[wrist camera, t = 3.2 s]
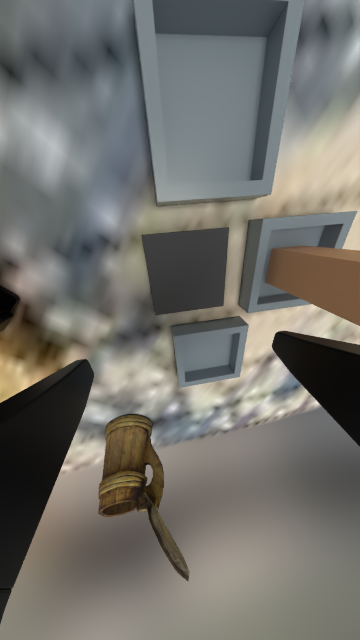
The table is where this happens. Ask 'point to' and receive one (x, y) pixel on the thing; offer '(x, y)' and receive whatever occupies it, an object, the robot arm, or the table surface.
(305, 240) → the tray
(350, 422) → the robot arm
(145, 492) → the wooden mug
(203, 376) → the empty tray
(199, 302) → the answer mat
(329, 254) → the orange block
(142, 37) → the empty tray
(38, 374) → the table surface
